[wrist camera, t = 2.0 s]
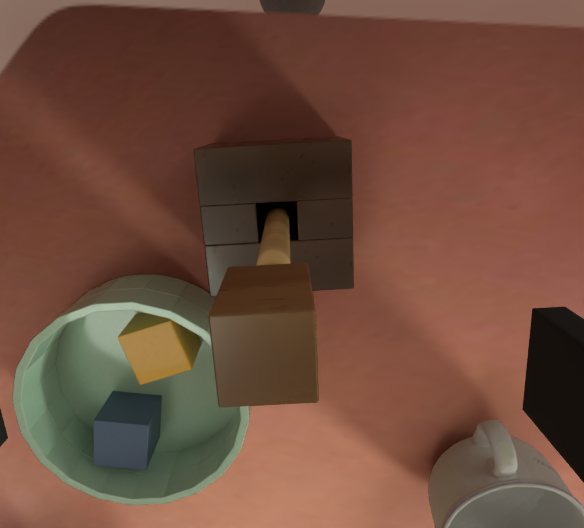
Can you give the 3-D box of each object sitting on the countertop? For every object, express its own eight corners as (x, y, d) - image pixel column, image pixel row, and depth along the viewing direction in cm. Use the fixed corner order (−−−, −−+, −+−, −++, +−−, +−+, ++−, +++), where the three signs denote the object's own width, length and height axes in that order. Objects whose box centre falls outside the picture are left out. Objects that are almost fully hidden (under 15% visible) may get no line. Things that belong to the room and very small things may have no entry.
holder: (212, 143, 33) (193, 148, 27) (338, 136, 33) (351, 139, 27) (224, 264, 36) (209, 296, 29) (341, 257, 36) (354, 289, 29)
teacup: (529, 514, 43) (581, 599, 36) (411, 518, 43) (438, 603, 36) (549, 380, 39) (612, 443, 32) (419, 384, 39) (451, 448, 31)
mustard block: (134, 314, 36) (116, 337, 32) (182, 299, 36) (170, 320, 32) (154, 358, 37) (139, 385, 33) (201, 344, 37) (192, 369, 33)
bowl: (35, 279, 36) (-12, 309, 30) (245, 268, 36) (237, 296, 30) (75, 456, 41) (40, 510, 35) (260, 446, 41) (256, 499, 35)
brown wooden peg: (260, 186, 34) (207, 315, 11) (295, 184, 34) (315, 309, 11) (262, 221, 35) (218, 409, 12) (297, 219, 35) (319, 403, 12)
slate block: (112, 390, 38) (93, 420, 34) (162, 395, 38) (148, 425, 34) (112, 432, 39) (93, 465, 35) (160, 436, 39) (146, 470, 36)
